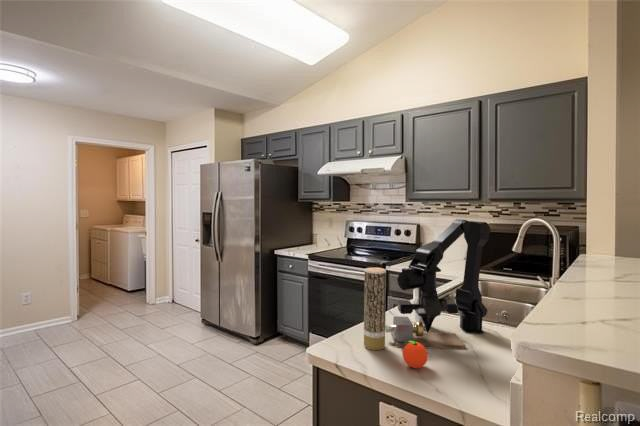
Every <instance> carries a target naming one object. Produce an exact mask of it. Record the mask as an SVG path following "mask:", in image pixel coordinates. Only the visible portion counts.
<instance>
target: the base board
mask: <svg viewBox="0 0 640 426" xmlns="http://www.w3.org/2000/svg"><path fill="white" fill-rule="evenodd" d="M390 335H391V337H392V340H393V342H394V344H395V347H396V348H404V347H405V346H406V345H407V344H408V343H397V341H396V339H395V336H394V334H393V332H390ZM413 341H414V342H418V343H420V344H422V345H423V346H424V347H425V349H429V348H432V349H433V348H434V349H462V350H463V349H464V350H465V349H466V348H467V345H466V344H465V343H464V342H463V341H462V339H461V338H460V337H459V336H458V335H457V333H455V332H452V333H451V332H429V333H427V332H426V331H424V334H423V337H416V336H415V333H413ZM404 344H405V345H404Z"/></svg>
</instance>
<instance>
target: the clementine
mask: <svg viewBox="0 0 640 426" xmlns="http://www.w3.org/2000/svg"><path fill="white" fill-rule="evenodd" d="M407 342H410V343H408V344H407V345H406V346H405V347H403V349H402V358H403V361H404V362H405V364H406V365H407V366H409V367H410V368H413V369H421V368H422V367H424V366H425V365H426V364H427V362H428V358H429V355H428V351H427V348H425V347H424V346H423V345H422V344H420V343H418V342H414V341H407ZM405 343H406V342H405ZM404 345H405V344H404Z"/></svg>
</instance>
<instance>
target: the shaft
mask: <svg viewBox="0 0 640 426" xmlns="http://www.w3.org/2000/svg"><path fill="white" fill-rule="evenodd" d="M391 332H393V333H396V325H393V324H385V333H391ZM424 332H425V329H423V324H422V322H415V324H414V323H413V333H415V336H416V337H423V334H424Z"/></svg>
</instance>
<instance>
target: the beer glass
mask: <svg viewBox="0 0 640 426" xmlns="http://www.w3.org/2000/svg"><path fill="white" fill-rule="evenodd" d="M412 292H413V297H412V301H413V304H418V288H415V289H413V291H412ZM415 322H422V324H423V321H422V318H421V316H419V315H418V314H417V313H416V311H415V310H414V322H413V325H414V324H415ZM423 329H424V330H426V329H425V326H424V324H423Z"/></svg>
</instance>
